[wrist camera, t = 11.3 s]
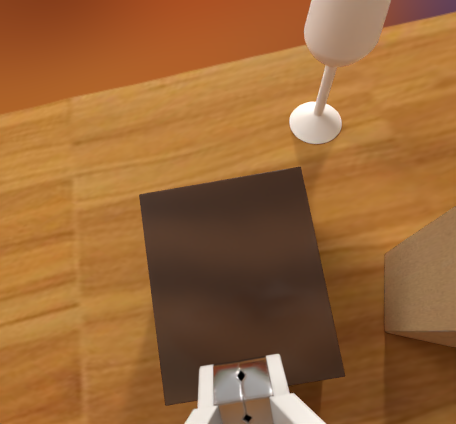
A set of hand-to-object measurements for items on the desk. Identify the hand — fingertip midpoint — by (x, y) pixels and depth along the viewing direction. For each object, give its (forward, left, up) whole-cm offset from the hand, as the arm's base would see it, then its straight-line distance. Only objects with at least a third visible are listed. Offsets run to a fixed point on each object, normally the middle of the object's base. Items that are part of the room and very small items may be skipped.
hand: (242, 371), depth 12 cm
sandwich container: (-17, -14, -21) cm, 31 cm away
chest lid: (+3, -4, -12) cm, 14 cm away
